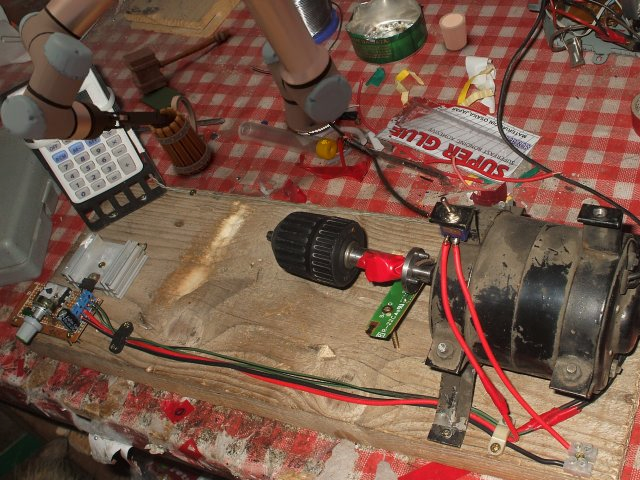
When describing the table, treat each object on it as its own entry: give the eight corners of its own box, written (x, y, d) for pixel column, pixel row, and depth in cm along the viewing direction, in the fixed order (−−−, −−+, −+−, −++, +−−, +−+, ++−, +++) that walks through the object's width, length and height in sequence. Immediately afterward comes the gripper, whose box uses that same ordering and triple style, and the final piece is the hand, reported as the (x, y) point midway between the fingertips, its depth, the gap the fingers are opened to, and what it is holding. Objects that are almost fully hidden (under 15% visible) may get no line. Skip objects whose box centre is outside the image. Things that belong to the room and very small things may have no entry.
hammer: (133, 86, 187) (119, 55, 180) (229, 47, 199) (220, 16, 191) (142, 95, 184) (128, 64, 176) (239, 54, 195) (230, 23, 188)
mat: (183, 95, 183) (182, 94, 182) (163, 113, 180) (162, 111, 180) (160, 84, 188) (159, 82, 188) (140, 100, 186) (139, 99, 186)
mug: (204, 176, 162) (174, 133, 149) (170, 176, 165) (137, 134, 152) (224, 132, 169) (197, 88, 157) (191, 133, 172) (161, 90, 160)
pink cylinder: (440, 41, 168) (435, 18, 163) (463, 31, 168) (459, 8, 162) (448, 55, 164) (444, 32, 159) (472, 45, 164) (469, 21, 158)
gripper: (127, 92, 120) (186, 100, 140) (19, 108, 126) (91, 113, 146) (135, 132, 122) (192, 134, 142) (28, 146, 128) (98, 146, 148)
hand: (141, 124), depth 144 cm, fingers open, 13 cm apart
